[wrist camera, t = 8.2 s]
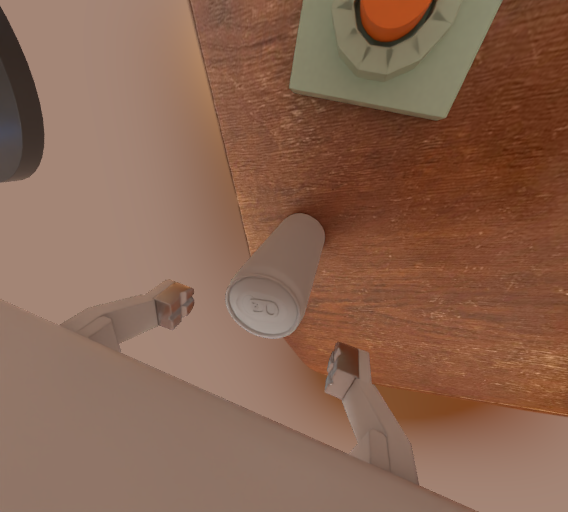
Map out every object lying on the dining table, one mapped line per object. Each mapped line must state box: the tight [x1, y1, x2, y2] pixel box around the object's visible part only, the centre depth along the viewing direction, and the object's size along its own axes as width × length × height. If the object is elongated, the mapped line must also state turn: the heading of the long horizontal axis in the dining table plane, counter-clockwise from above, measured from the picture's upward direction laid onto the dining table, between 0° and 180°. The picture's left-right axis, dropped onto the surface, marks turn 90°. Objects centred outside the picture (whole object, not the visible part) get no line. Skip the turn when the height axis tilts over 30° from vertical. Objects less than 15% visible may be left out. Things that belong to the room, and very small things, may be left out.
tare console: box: [289, 0, 503, 121], centre depth 13 cm, size 11×9×4 cm
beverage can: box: [225, 213, 325, 339], centre depth 17 cm, size 5×5×12 cm
